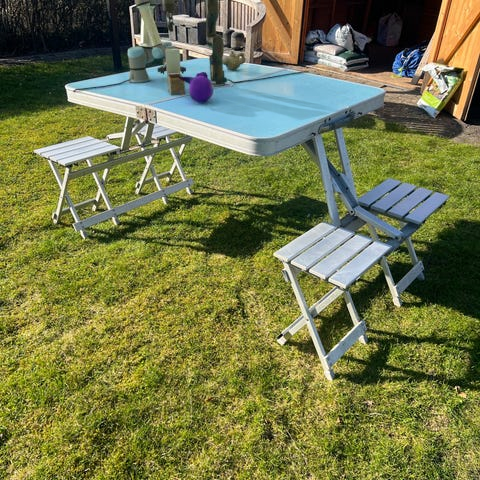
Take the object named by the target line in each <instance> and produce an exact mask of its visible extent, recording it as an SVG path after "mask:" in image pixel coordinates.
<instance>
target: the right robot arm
mask: <svg viewBox="0 0 480 480" xmlns="http://www.w3.org/2000/svg"><path fill="white" fill-rule="evenodd" d="M161 5H162V11H163V12H165V20H166V24H167V30H168V31H169V32H170V33H173V32H174V15H173V12H176V6H175V0H161ZM204 10H205V20H206V21H205V22H206V24H205V25H206V38H205V39H206V46H207V47H208V48H210V49H211V54H209V57H208V58H209V75H210V78H209V80H210V81H211V83H212V85H213V87H222V86H225V84H226V83H228V82H230V83H232V84H240V83H246V82H255V81H261V80H268V79H274V78H278V77H279V78H280V77H285V76H290V75H298V74H304V73H310V71H309V70H306V71H297V72H289V73H283V74H279V75H272V76H267V77H261V78H260V77H259V78H253V79H245V80H240V81H233V80H231V79H229V78H228V77H225V70H224V64H223V58H224V52H225V49H224V48H225V44H224V38H223V36H221V35H220V34H217V22H218V20H219V16H220V1H219V0H204Z"/></svg>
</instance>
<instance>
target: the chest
mask: <svg viewBox="0 0 480 480" xmlns="http://www.w3.org/2000/svg"><path fill="white" fill-rule="evenodd" d="M178 77H184V76H183V75H182V73H181V72H180V73H171V74H167V73H166V78H167V89H168V92H169V94H170V95H171V96H178V95H180V96H181V95H186V88H185V81H183V80H181V79H179V78H178Z"/></svg>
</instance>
